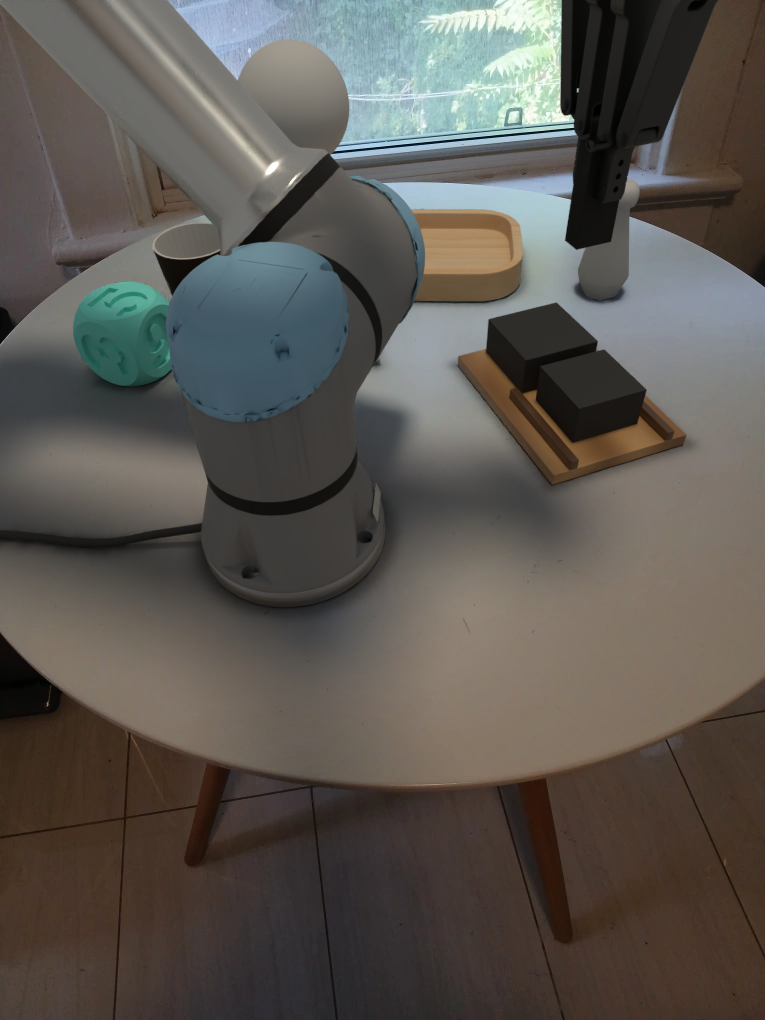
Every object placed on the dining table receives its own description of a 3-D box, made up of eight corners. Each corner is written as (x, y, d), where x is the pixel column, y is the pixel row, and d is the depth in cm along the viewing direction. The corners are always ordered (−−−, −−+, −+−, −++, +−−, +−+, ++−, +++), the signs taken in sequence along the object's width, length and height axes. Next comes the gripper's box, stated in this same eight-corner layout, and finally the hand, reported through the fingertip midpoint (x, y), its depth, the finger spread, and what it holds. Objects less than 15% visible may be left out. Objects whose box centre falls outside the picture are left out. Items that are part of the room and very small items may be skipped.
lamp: (515, 236, 98) (537, 14, 80) (522, 303, 86) (550, 61, 68) (274, 235, 101) (242, 21, 83) (248, 301, 89) (204, 67, 71)
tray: (551, 485, 65) (555, 467, 64) (457, 365, 78) (458, 347, 77) (683, 444, 68) (690, 426, 67) (571, 335, 81) (574, 318, 80)
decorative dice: (131, 339, 84) (110, 275, 78) (190, 352, 82) (172, 287, 76) (87, 378, 79) (61, 313, 73) (148, 394, 77) (126, 327, 71)
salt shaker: (573, 278, 90) (590, 170, 81) (620, 278, 90) (644, 170, 80) (577, 303, 86) (596, 192, 77) (627, 304, 86) (652, 192, 76)
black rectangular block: (572, 443, 67) (579, 408, 64) (535, 399, 72) (540, 366, 69) (637, 423, 69) (647, 389, 66) (597, 382, 73) (604, 349, 71)
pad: (521, 393, 73) (525, 360, 70) (485, 351, 78) (488, 318, 75) (591, 374, 74) (598, 341, 72) (551, 334, 80) (556, 301, 77)
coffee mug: (233, 344, 83) (215, 261, 75) (162, 338, 84) (138, 256, 77) (265, 292, 90) (251, 212, 83) (199, 287, 92) (181, 208, 85)
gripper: (855, -271, 29) (694, 273, 46) (659, -262, 38) (584, 194, 55) (698, -262, 28) (591, 298, 45) (530, -255, 36) (494, 213, 53)
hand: (587, 240), depth 50 cm, fingers closed
